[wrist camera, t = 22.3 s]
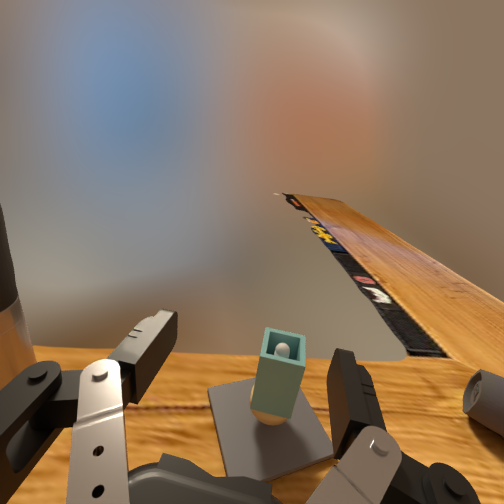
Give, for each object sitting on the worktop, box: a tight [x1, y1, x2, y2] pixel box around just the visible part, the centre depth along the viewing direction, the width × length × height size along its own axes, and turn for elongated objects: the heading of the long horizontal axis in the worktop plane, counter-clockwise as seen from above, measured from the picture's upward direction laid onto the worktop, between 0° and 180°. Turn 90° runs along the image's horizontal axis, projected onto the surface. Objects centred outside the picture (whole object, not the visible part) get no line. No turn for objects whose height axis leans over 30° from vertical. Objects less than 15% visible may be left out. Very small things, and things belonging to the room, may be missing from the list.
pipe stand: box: [207, 343, 334, 482], centre depth 39 cm, size 16×15×16 cm
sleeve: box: [250, 327, 306, 419], centre depth 38 cm, size 6×6×10 cm
